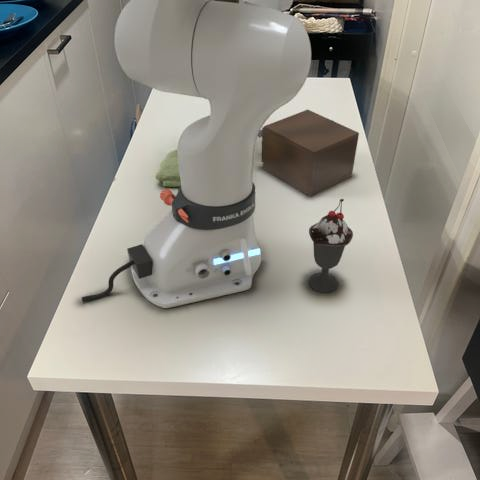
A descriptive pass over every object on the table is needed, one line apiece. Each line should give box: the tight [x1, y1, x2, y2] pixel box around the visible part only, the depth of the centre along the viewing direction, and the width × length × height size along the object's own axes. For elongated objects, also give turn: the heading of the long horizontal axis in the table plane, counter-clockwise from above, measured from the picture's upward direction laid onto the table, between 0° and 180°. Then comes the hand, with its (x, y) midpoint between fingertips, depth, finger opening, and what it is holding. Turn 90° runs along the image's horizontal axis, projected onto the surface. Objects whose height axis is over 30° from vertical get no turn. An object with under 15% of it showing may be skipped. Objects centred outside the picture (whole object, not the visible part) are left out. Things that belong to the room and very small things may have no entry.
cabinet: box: [262, 109, 360, 197], centre depth 104 cm, size 15×13×10 cm
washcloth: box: [155, 149, 181, 188], centre depth 106 cm, size 13×18×3 cm
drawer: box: [257, 126, 264, 164], centre depth 106 cm, size 18×11×8 cm, turn 39°
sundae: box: [308, 198, 354, 293], centre depth 77 cm, size 7×7×15 cm
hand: (251, 27), depth 101 cm, fingers closed
